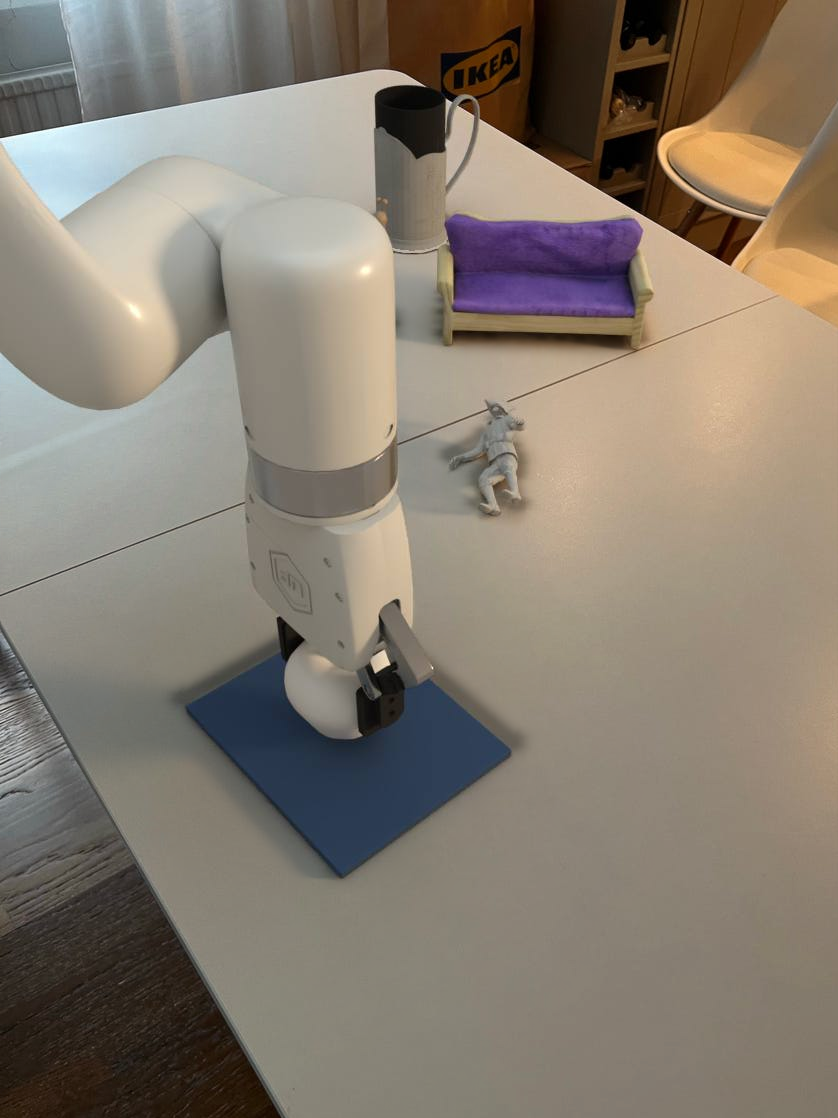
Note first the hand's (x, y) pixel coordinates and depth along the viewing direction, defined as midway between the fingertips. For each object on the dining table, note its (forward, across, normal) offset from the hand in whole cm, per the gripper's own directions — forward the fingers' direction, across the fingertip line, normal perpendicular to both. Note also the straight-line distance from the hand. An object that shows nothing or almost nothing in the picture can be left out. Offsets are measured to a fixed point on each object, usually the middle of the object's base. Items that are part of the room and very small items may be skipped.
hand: (342, 685), depth 65 cm
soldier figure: (+5, -14, +27) cm, 31 cm away
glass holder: (+5, -53, +53) cm, 75 cm away
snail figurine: (+5, -40, +34) cm, 53 cm away
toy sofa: (+5, -29, +47) cm, 56 cm away
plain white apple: (+3, 0, 0) cm, 3 cm away
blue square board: (+5, 0, 0) cm, 5 cm away
